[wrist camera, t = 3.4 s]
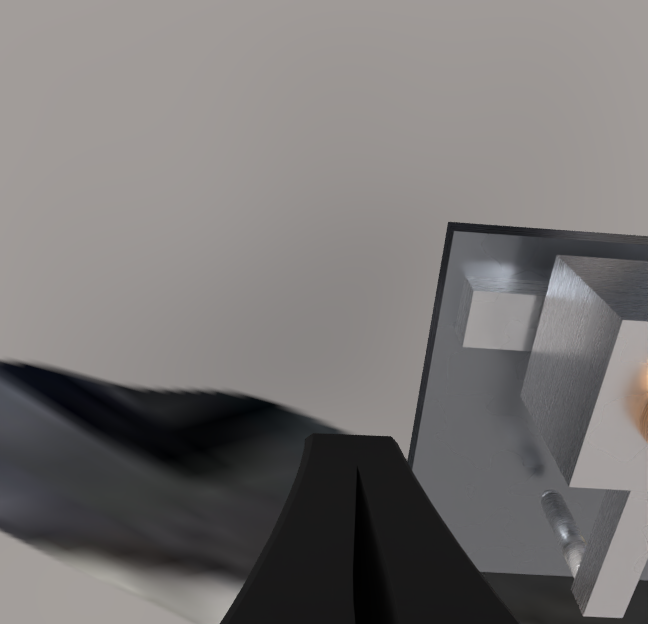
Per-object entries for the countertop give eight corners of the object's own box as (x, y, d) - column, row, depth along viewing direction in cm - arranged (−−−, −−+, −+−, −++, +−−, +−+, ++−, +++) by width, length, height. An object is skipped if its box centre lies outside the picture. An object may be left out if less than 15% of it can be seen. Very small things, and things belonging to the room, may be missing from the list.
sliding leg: (700, 253, 15) (866, 354, 11) (608, 505, 19) (702, 663, 14) (544, 242, 15) (643, 340, 10) (482, 498, 19) (534, 655, 14)
